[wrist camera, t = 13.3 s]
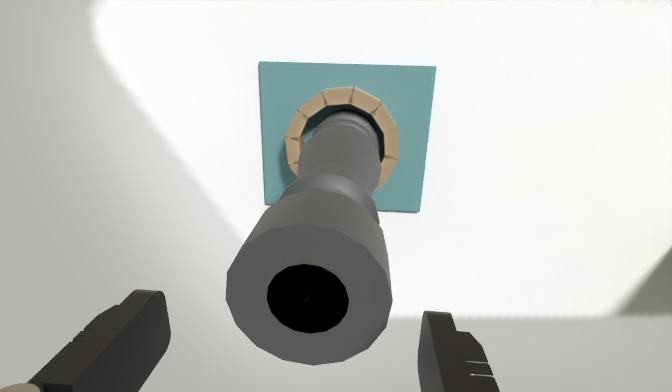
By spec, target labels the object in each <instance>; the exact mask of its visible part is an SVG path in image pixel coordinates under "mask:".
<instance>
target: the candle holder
mask: <svg viewBox="0 0 672 392" xmlns="http://www.w3.org/2000/svg"><path fill="white" fill-rule="evenodd" d="M378 152H379V142H378V137H377V132H376V128H375V126H374V125H373V123H372V122H371V121H370V119H369V118H368V117H367V116H365V115H364V114H362V113H360V112H359V111H357V110H351V109H341V110H337V111H333V112H331V113H330V114H328V115H327V116H326V117H324V118H323V119H322V120H321V122H320V123H319V124H318V126H317V128H316V129H315V131H314V133H313V134H312V136H311V138H310V139H308V141H307V142H306V144H305V146H304V148H303V149H302V151H301V153H300V154H299V161H298V169H297V172H298V177H299V179H297V180H296V181H295V182H293V183H292V184H290V185H289V186H287V187H286V189H285V191H284V192H283V194H282V196H281V197H280V199H279V201H278V202H277V203H275V204H274V205H272V206H271V207H269V208H268V209H267V210H266V211H265V212H264V214H263V215H262V217H261V218H260V220H259V221H258V223H257V224H256V226H255V227H254V229H253V231H252V232H251V234H250V235H249V237H248V238H247V240H246V241H245V243H244V244H243V246H242V247H241V249H240V251H239V253H238V254H237V256H236V258H235V260H234V261H233V263H232V265H231V266H230V268H229V270H228V272H227V286H226V301H227V303H228V306H229V308H230V311H231V313H232V316H233V318H234V321H235V323H236V325H237V326H238V327H239V328H240V329H241V330H242V332H243V333H244V334H245V335H246V336H247V337H248V338H249V339H250V340H251V341H252V342H253V343H254V344H255V345H256V346H257V347H259V348H261V349H263V350H265V351H267V352H269V353H271V354H273V355H274V356H277V357H278V358H280V359H282V360H286V361H291V362H297V363H302V364H308V365H320V364H328V363H335V362H343V361H345V360H347V359H349V358H350V357H353V356H355V355H356V354H358V353H360V352H362V351H364V350H366V349H368V348H369V347H370V346H371V345H372V343H373V342H374V341H375V340H376V339H377V337H378V336H379V335H380V334H381V332H382V331H383V330H384V329H385V328H386V325H387V321H388V317H389V313H390V309H391V305H392V301H393V300H392V291H391V281H390V272H389V262H388V253H387V249H386V244H385V240H384V235H383V231H382V229H381V227H380V226H379V218H378V213H377V209H376V204H375V201H374V200H373V198H372V197H371V194H372V193H373V192H374V190H375V189H376V187H377V186H378V184H379V180H380V175H381V170H382V168H381V162H380V158H379V153H378Z"/></svg>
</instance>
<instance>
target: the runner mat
mask: <svg viewBox="0 0 672 392" xmlns="http://www.w3.org/2000/svg"><path fill="white" fill-rule="evenodd" d="M435 73H436V67H435V66H400V65H364V64H329V63H293V62H259V76H260V97H261V119H262V140H263V162H264V183H265V204H275V203H277V202H278V201H279V199H280V197H281V196H282V194H283V192H284V191H285V189H286V187H287V186H289V185H290V184H292V183H293V182H295V181H296V180H297V179H298V178H297V176H296V175H295V174H294V172H293V171H292V169H291V168H290V167H289V166H290V165H288V157H287V149H286V141H285V137H286V136H285V135H286V133H287V131H288V128H289V126H290V124H291V121H292V119H293V117H294V114H295V112H296V110H297V109H298V108H299V107H300V106H302V105H303V104H304V103H306V102H307V101H308V100H310V99H311V98H313V97H314V96H315V95H317V94H318V93H320V92H321V91H322V90H324V89H326V88H337V87H350V86H353V89H354V88H355V87H357V88H359V89H361V90H363V91H365V92H367V93H369V94H371V95H373V96H375V97H377V98H379V99H380V100H381V101H382V103H383V104H384V106H385V108H386V109H387V111H388V112H389V114H390V116H391V117H392V119H393V120H394V122H395V124H396V126H397V129H398V152H399V158H398V161H397V163H396V165H395V167H394V169H393V170H392V172H391V174H390V176H389V177H388V179H387V181H386V183H385V184H384V183H383V186H381V187H380V188H378V189H377V190H375V191H374V192H373V193H372V194H371V197H372V198H373V200H374V201H375V204H376V209H378V210H397V211H415V212H420V204H421V195H422V187H423V178H424V169H425V161H426V152H427V143H428V134H429V126H430V117H431V108H432V99H433V91H434V82H435ZM341 109H351V110H357V111H359V112H360V113H362V114H364V115H365V116H367V117H368V118H369V119H370V121H371V122H372V123H373V125H374V126H375V128H376V132H377V137H378V142H379V152H378V153H379V156H380V154H381V153H382V151H383V149H384V147H383V131H382V130H381V128H380V127H379V125H378V124H377V122H376V120H375V119H374V117H373V116H372V114H370V113H368V112H366V111H364V110H362V109H360V108H358V107H356V106H354V105H352V104H339V105H327V106H325V107H324V108H322V109H321V110H319V111H318V112H317V113H315V114H314V115H312V116H311V118H310V120H309V122H308V125H307V127H306V129H305V131H304V139H305V144H306V142H307V141H308V139H310V138H311V136H312V134H313V133H314V131H315V129H316V128H317V126H318V124H319V123H320V122H321V120H322V119H323V118H324V117H326V116H327V115H328V114H330V113H331V112H333V111H337V110H341Z"/></svg>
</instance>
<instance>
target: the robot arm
mask: <svg viewBox="0 0 672 392" xmlns="http://www.w3.org/2000/svg"><path fill="white" fill-rule="evenodd" d="M170 336H171V330H170V324H169V318H168V312H167V306H166V300H165V295H164V293H163V292H162V291H153V290H139V289H138V290H134V291H133V292H132V293H131V294H130V295H129V296H128V297H127V298H126V299H125V300H124V301H123V302H122V303H121V304H120V305H114V306H113V307H111V308H109V309H108V310H106V311H104V312H103V313H101V314H99V315H98V316H97V317H95V318H94V319H93V320H92V321H91V322H90V323H89V324H88V325H87V326H86V327H85V328H84V331H81V332H80V333H79V334H78V335H77V336H76V337H75V338H73V341H72V342H69V343H68V344H67V345H66V346H65V347H64V348H63V349H62V350H61V351H60V352H59V353H58V354H57V355H56V356H55V357H53V358H52V359H51V360H50V361H49V362H48V363H47V364H46V365H45V366H44V367H43V368H42V369H41V370H40V371H39V372H38V373H37V374H36V375H35V376H34V377H33V378H32V379H30V380H29V381H28V382H27V383H21V384H15V385H11V386H8V387H5V388H2V389H0V392H138V391H139V390H140V388H141V387H142V385H143V384H144V382H145V381H146V380H147V378H148V377H149V375H150V374H151V372H152V371H153V369H154V368H155V366H156V365H157V363H158V362H159V360H160V359H161V358H162V356H163V355H164V353H165V352H166V350H167V348H168V345H169V342H170ZM418 374H419V380H420V387H421V392H500V391H499V388H498V386H497V383H496V381H495V378H493V373H492V371H491V368H490V365H488V360H487V358H486V355H485V353H484V350H483V348H482V346H481V345H480V343H478V341H477V340H476V339H475V338H474V337H473V336H472V335H471V334H470V333H469V332H460V331H456V327H455V325H454V321H453V318H452V315H451V313H449V312H435V311H424V313H423V318H422V325H421V334H420V341H419V349H418Z"/></svg>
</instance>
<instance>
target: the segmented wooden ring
mask: <svg viewBox="0 0 672 392" xmlns="http://www.w3.org/2000/svg"><path fill="white" fill-rule="evenodd" d="M339 104H352V105H354V106H356V107H358V108H360V109H362V110H364V111H366V112H368V113H370V114H372V116H373V117H374V119H375V120H376V122H377V124H378V125H379V127H380V128H381V130H382V131H383V147H384V149H383V151H382V153H381V154H380V156H379V158H380V162H381V168H382V170H381V175H380V180H379V184H378V186H377V187H376V189H375V190H377V189H378V188H380V187H381V186H383V183H384V184H385V183H386V181H387V179H388V177H389V176H390V174H391V172H392V170H393V169H394V167H395V165H396V163H397V161H398V158H399V152H398V129H397V126H396V124H395V122H394V120H393V119H392V117H391V116H390V114H389V112H388V111H387V109H386V108H385V106H384V104H383V103H382V101H381V100H380V99H379V98H377V97H375V96H373V95H371V94H369V93H367V92H365V91H363V90H361V89H359V88H357V87H355V88H354V89H353V86H350V87H337V88H326V89H324V90H322V91H321V92H320V93H318V94H317V95H315V96H314V97H313V98H311V99H310V100H308V101H307V102H306V103H304V104H303V105H302V106H300V107H299V108H298V109H297V110H296V112H295V114H294V117H293V119H292V121H291V124H290V126H289V128H288V131H287V133H286V135H285V136H286V137H285V141H286V149H287V157H288V165H290V166H289V167H290V168H291V169H292V171H293V172H294V174H295V175H296V176H297V178H298V179H299V177H298V172H297V169H298V161H299V154H300V153H301V151H302V149H303V148H304V146H305V139H304V131H305V129H306V127H307V125H308V122H309V120H310V118H311V116H312V115H314V114H315V113H317V112H318V111H319V110H321V109H322V108H324V107H325V106H327V105H339ZM375 190H374V191H375Z"/></svg>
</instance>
